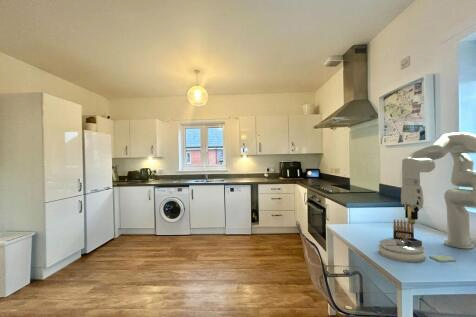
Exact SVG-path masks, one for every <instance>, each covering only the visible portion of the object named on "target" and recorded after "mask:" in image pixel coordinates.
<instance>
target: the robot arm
mask: <svg viewBox="0 0 476 317" xmlns="http://www.w3.org/2000/svg"><path fill="white" fill-rule="evenodd" d="M448 153H449V154H450V155H451V158H452V160H453V167H452V172H451V178H450V182H451V184H452V185H453V186H455V187H461V188H447V189H446V190H445V192H444V194H443V195H444V196H443V197H444V201H445V205H446V220H447V221H446V223H447V224H446V227H447V228H446V229H447V230H446V231H447V232H446V233H447V234H446V235H447V239H445V240H444V241H443V244H445V245H446V246H449V247H454V248H458V249H463V250H464V249H465V250H466V249H469V250H471V249H473V248H475V246H474V244H472V243H476V238H472V237H471V236H470V214H469V212H468V210H467V209H466V208H471V209H473V208H474V209H476V170H475V169H474V160H473V159H472V158H471V157H470V156H469V155H468V154H476V134H474V133H470V132H466V131H461V132H460V131H459V132H450V133H444V134H442V135H441V136H440V137H438V138H437V139H436V140H435V141H434V142H432V143H431V144H430V145H429V146H425V147H423V148H421V149H418V150H416V151H414V152H412V153H410V154H409V155H408V156H407V157H406V158H403V159H402V161H401V174H402V175H401V182H402V183H401V190H400V191H401V192H400V204H401V205H402V206H403V209H404V212H405V214H404V215H405V219H408V208H407V205H411V206H412V211H411V219H412V220H415V221H417V220H419V214H418V213H419V211H420V209H422V208H423V207H424V206H423V205H424V195H423V194H424V193H423V188H422V185H421V180H420V179H421V177H420V176H421V174H420V173H431V172H432V171H434V170H435V168H436V163H435V161H436V160H440V159H442V158H444V157H445V156H446V155H447V154H448ZM473 169H474V170H473ZM465 188H466V189H465ZM467 188H470V189H467ZM471 188H472V189H471ZM414 207H415V208H414Z"/></svg>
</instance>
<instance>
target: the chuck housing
mask: <svg viewBox="0 0 476 317" xmlns="http://www.w3.org/2000/svg"><path fill="white" fill-rule="evenodd" d="M378 253H379V255H381V256H382V257H385V258H387V259H389V260H393V261H398V262H402V263H403V262H404V263H412V264H415V263H416V264H417V263H423V262H425V261H426V260H427V259H426V250H425V249H424V253H422V254H401V253H396V252H391V251H388V250H385V249H383V248H382V247H380V243H379V244H378Z"/></svg>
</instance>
